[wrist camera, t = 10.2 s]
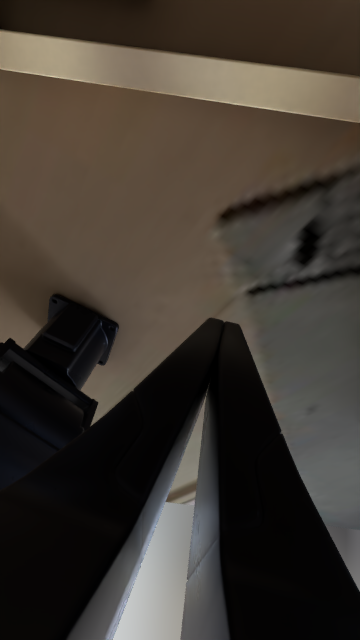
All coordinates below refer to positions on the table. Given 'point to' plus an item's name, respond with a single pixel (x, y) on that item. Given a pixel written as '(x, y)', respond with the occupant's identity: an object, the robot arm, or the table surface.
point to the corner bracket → (184, 74)
